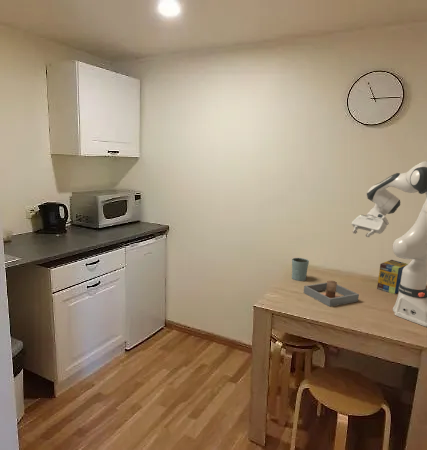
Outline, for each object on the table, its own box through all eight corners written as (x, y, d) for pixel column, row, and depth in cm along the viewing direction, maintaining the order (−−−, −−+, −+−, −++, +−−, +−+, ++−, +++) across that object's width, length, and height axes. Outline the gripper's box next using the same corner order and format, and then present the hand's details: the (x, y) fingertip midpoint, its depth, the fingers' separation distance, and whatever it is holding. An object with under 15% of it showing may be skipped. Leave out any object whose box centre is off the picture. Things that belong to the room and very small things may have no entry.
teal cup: (295, 281, 220) (296, 262, 217) (287, 276, 229) (289, 257, 227) (310, 281, 222) (312, 262, 220) (301, 275, 232) (303, 257, 230)
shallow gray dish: (357, 301, 194) (358, 294, 193) (329, 306, 185) (330, 299, 184) (330, 288, 211) (331, 281, 211) (303, 292, 202) (304, 285, 202)
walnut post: (337, 297, 197) (338, 283, 195) (329, 298, 195) (331, 284, 193) (330, 293, 201) (332, 280, 199) (323, 294, 199) (325, 281, 197)
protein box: (376, 288, 214) (380, 263, 211) (387, 283, 224) (391, 259, 221) (394, 294, 207) (398, 268, 204) (405, 288, 217) (409, 263, 214)
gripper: (358, 210, 221) (344, 227, 219) (387, 216, 203) (372, 234, 201) (362, 217, 224) (348, 234, 221) (391, 224, 206) (377, 242, 203)
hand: (360, 234), depth 211 cm, fingers open, 8 cm apart
